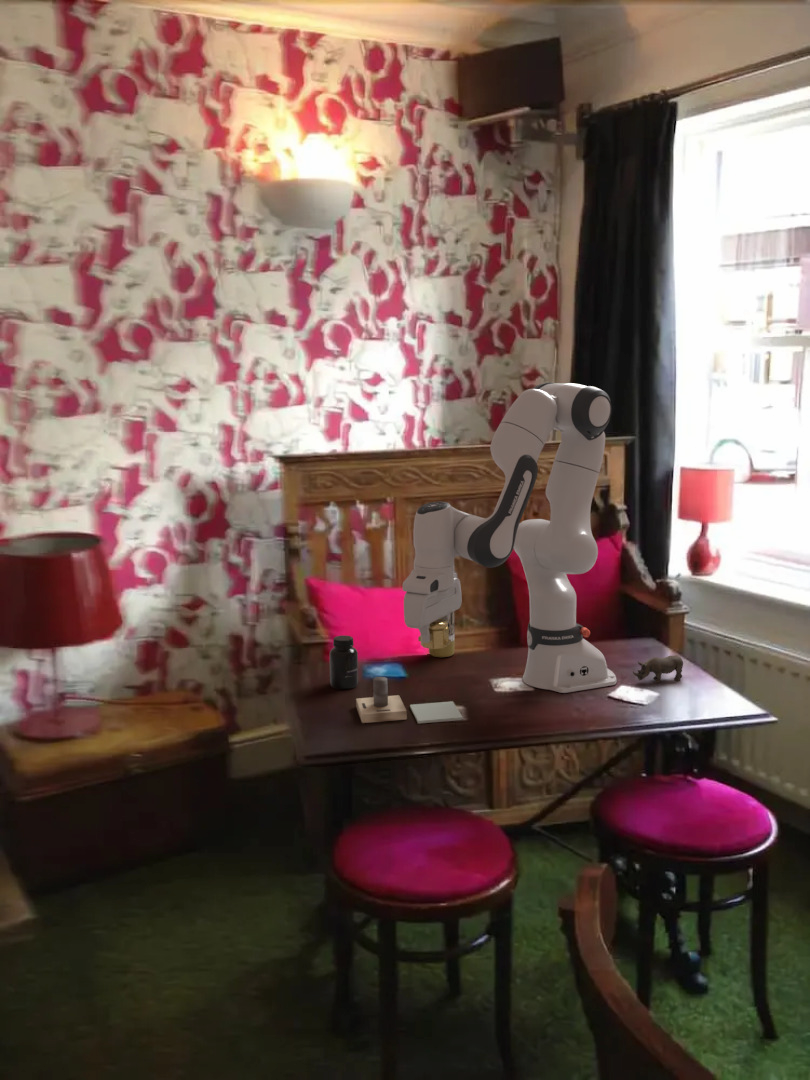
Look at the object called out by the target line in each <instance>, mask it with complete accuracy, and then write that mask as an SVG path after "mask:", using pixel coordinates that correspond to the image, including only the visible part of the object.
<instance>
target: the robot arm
mask: <svg viewBox="0 0 810 1080" xmlns="http://www.w3.org/2000/svg"><path fill="white" fill-rule="evenodd" d="M612 408H613V407H612V402H611V398H610V396H609V394H608V393H607V392H606V391H605V390H602V389H601V388H598V387H596V386H593V385H592V386H591V385H588V386H587V385H584V384H580V383H572V382H567V383H561V382H560V383H559V382H557V383H554V382H543V383H540V384H537V385H535V386H534V387H533V388H529V389H525V390H523V392H521V393H520V394H519V395H518V397H517V398H516V399H515V400H514V401H513V403H512V404H511V405H510V407H509V409H508V410H507V411H506V413H505V415H504V417H502V419H501V421H500V423H499V425H498V427H497V428H496V430H495V432H494V434H493V436H492V440H491V443H490V447H489V449H490V455H491V457H492V460H493V461H494V463H495V464H496V465H497V467H498V468H499V469H500V470H501V471H502V472H503V474H504V476H505V481H504V485H503V488H502V490H501V493H500V495H499V497H498V501H497V503H496V506H495V507H494V509H493V513H492V514H490V515H489V516H488V517H481V516H478V515H474V514H471V513H467V512H465V511H461V510H459V509H458V508H455V507H453V506H452V505H451V504H450V503H449V502H447V501H432V502H427V503H425V504H422V505H421V506H420V507H418V508H417V510H416V512H415V515H414V520H413V533H412V534H413V543H412V544H413V548H414V551H415V552H414V559H413V569H412V570H411V572H410V574H409V575H408V576H407V577H406V578H405V580H404V581H403V582H402V591H403V592H405V594H404V597H403V617H404V619H403V620H404V624H405V625H406V627H408V628H410V629H418V630H419V632H420V636H421V640H422V642H423V643H429V642H430V641H431V640H432V634H430V633H429V629H428V628H430V623H432V622H434V621H436V620H438V619H444V620H446V621H447V622H449V619H450V613H451V612H453V611H454V612H455V611H457V610H459V609H460V608H461V606H462V600H463V599H462V589H461V588H462V587H461V580H460V579H459V578H458V573H457V572H456V570H455V558H458V557H461V558H463V559H467V560H469V561H473V562H474V563H476V564H479V565H481V566H483V567H485V568H489V569H490V568H497V567H499V566H501V565H502V564H504V563H505V562H506V561H507V560H508V559H509V558H510V556H512V555H511V554H512V553H513V550H514V552H515V553H516V555H517V556H518V557H519V560H520V562H521V566H522V567H523V571H524V574H525V579H526V582H527V589H528V596H529V622H528V624H527V633H526V635H527V636H526V639H527V641H526V642H527V646H528V650H527V651H528V652H527V660H526V664H525V670H524V673H523V676H522V681H523V682H524V683H525V684H526V685H528V686H530V687H533V688H537V689H542V690H549V691H554V692H558V693H563V694H567V693H574V692H578V691H585V690H586V691H587V690H591V689H598V688H604V687H608V686H615V685H616V684H617V681H618V680H617V675H616V674H615V673H614V671H612V670H611V669H609V668H608V665H607V664H608V663H607V661H606V657H605V656H604V654H603V652H601V651H600V650H599V649H598V648H597V647H595V645H593V644H592V643H590V642H589V641H588V640H586V639H585V638H589V637H590V635H591V631H590V630H589V629H588V628H587V627H584V626H583V625H582V624H579V623H577V593H576V591H575V588H574V587H573V585H572V584H571V582H570V580H569V579H568V578H569V577H568V575H581V574H582V575H583V574H585V573H587V572H589V571H590V570H592V568H593V567H594V566H595V564H596V561H597V559H598V555H599V548H598V547H599V546H598V544H597V542H596V539H595V537H594V536H593V532H592V526H591V510H592V509H591V507H592V502H593V499H594V494H595V490H596V486H597V483H598V479H599V476H600V472H601V469H602V465H603V460H604V454H605V446H606V433H605V430H606V428H607V426H608V424H609V423H610V419H611V416H612V410H613V409H612ZM553 430H554V431H559V432H560V443H559V445H558V448H557V450H556V454H555V456H554V460H553V463H552V467H551V471H550V473H549V477H548V480H547V484H546V487H545V497H546V499H547V500H548V502H549V508H550V520H547V519H543V518H533V519H532V518H530V519H525V520H523V521H521V520H522V517H523V515H524V512H525V510H526V508H527V505H528V502H529V500H530V497H531V495H532V493H533V490H534V487H535V483H536V482H537V481H536V480H537V479H538V478H537V477H538V473H539V467H538V462H539V461H538V460H539V458H540V455H541V452H542V450H543V449H544V447H545V444H546V442H547V440H548V438H549V437H550V434H551V431H553ZM583 637H584V638H583Z"/></svg>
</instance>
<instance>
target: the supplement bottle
mask: <svg viewBox="0 0 810 1080" xmlns="http://www.w3.org/2000/svg"><path fill="white" fill-rule="evenodd" d="M332 640H333V643H332V646H333V647H332V648H331V649H330V650H329V677H330V678H329V680H330V681H329V682H330V686H331V687H332V688H333V689H336V690H351V689H354V688H356V687H357V686H358V685H359V662H358V661H359V657H358V656H359V655H358V650H357V649H356V648H355V647H354V637H353V636H351V635H336V636H334V637H333V639H332Z"/></svg>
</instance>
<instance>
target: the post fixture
mask: <svg viewBox="0 0 810 1080" xmlns="http://www.w3.org/2000/svg"><path fill="white" fill-rule="evenodd" d="M388 685H389V684H388V678H387V677H385V676H376V677H374V678H373V679H372V687H373V689H372V691H373V696H372V697H370V696H369V697H361V698H360V697H359V698H357V697H356V698H355V704H356V705H355V708H356V710H357V713H358V716H359V719H360V722H361V723H362V724H365V723H366V724H368V723H381V722H390V721H403V720H407V719H408V716H407V715H408V713H407V712H408V711H407V709H406V707H405V705H404V702H403V701H402V699H401V697H400V695H398V694H397V695H388V693H389V692H388V691H389V690H388Z"/></svg>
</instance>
